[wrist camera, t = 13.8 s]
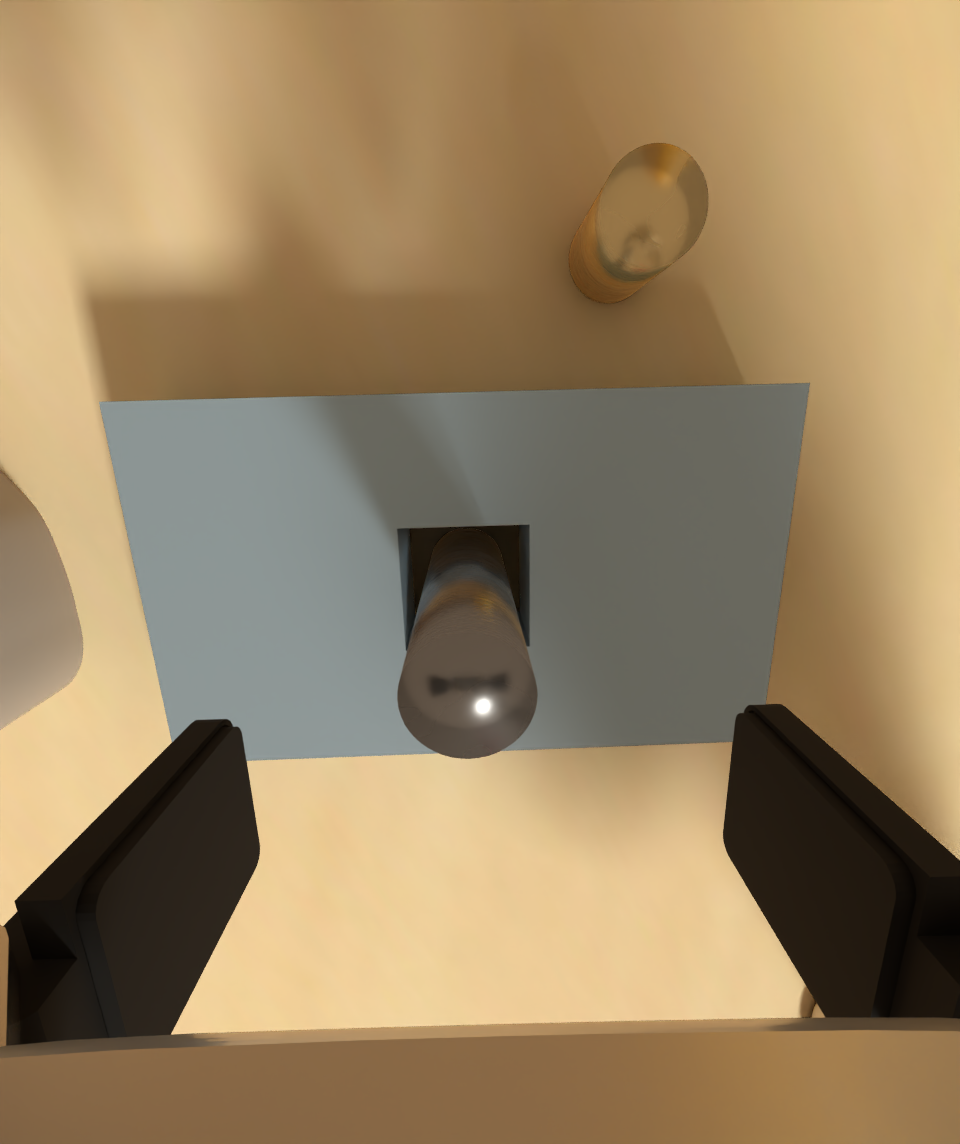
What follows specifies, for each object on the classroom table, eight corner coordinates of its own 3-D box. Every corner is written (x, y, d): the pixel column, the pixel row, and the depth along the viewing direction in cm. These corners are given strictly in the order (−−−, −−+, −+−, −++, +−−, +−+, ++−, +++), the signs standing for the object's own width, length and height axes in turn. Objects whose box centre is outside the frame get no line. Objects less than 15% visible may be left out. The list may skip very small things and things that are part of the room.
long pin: (501, 526, 23) (538, 630, 12) (502, 595, 24) (537, 755, 12) (428, 528, 23) (391, 634, 12) (432, 597, 24) (401, 761, 12)
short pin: (653, 209, 20) (712, 141, 15) (648, 302, 21) (703, 266, 16) (569, 211, 20) (602, 144, 15) (568, 304, 21) (598, 268, 16)
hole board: (749, 389, 22) (809, 383, 18) (716, 693, 26) (760, 740, 22) (165, 405, 21) (98, 402, 18) (220, 711, 25) (176, 763, 21)
